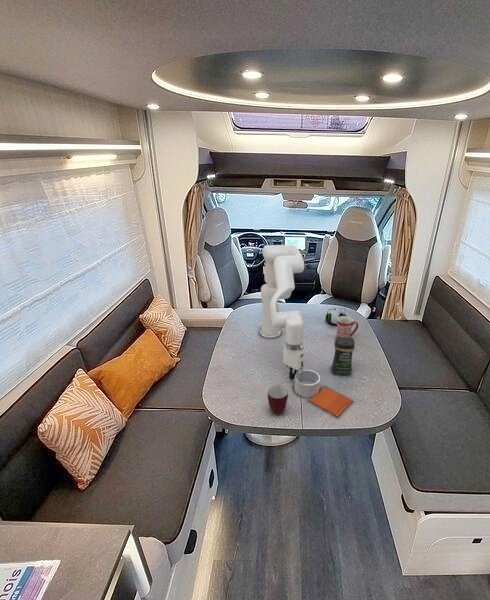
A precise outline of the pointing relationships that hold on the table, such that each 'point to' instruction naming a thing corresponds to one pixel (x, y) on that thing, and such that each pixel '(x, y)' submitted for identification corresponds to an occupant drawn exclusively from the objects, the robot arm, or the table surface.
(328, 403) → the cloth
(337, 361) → the coffee jar
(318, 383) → the pot
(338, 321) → the mug
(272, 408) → the mug
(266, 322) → the robot arm
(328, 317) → the headphones
